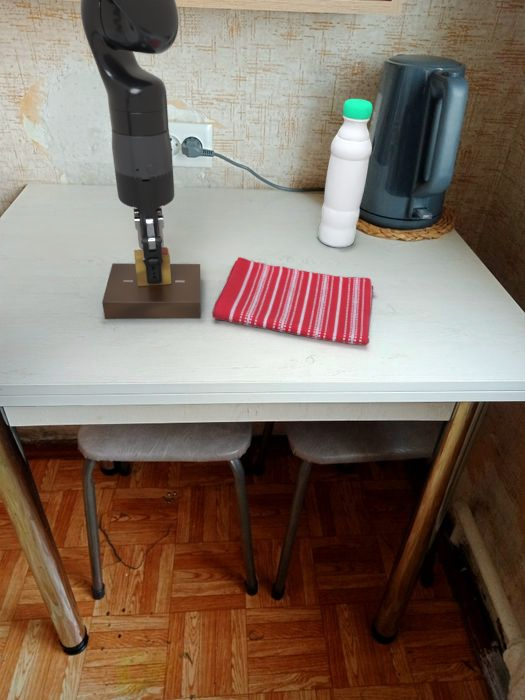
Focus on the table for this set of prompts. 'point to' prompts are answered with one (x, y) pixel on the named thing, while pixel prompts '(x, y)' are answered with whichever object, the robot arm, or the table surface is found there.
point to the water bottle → (346, 175)
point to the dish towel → (297, 302)
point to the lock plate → (153, 294)
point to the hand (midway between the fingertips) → (154, 277)
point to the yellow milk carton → (142, 268)
